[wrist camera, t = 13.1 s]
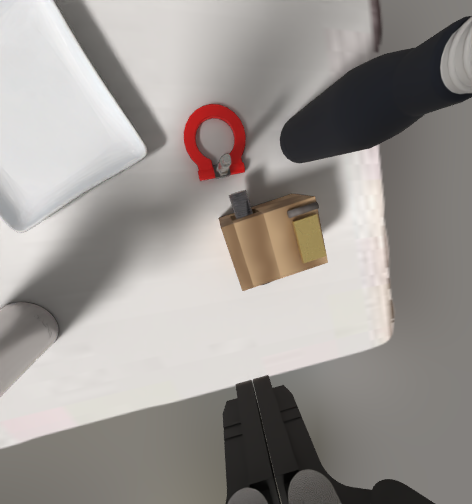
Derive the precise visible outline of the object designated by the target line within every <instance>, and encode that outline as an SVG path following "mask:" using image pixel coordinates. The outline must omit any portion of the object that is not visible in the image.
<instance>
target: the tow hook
mask: <svg viewBox="0 0 472 504" xmlns="http://www.w3.org/2000/svg"><path fill="white" fill-rule="evenodd" d="M211 118H218V119H221V120H223V121H225V122H226V123H227V124H228V125H229V126H230V127H231V129H232V131H233V133H234V138H235V139H234V147H233V150H232V151H231V153H230V154H225V155H224V156H222V157H221V158H220V162H219V163H218V165H214V166H212V161H211V160H210V159H208V158H206V157H205V156H203V155H202V154H201V152H200V151H199V150H198V148H197V145H196V139H195V136H196V132H197V129H198V127H199V126H200V125H201V123H202V122H204V121H205V120H207V119H211ZM245 140H246V136H245V131H244V127H243V125H242V123H241V120H240V119H239V118H238V116H237V115H236V114H235V113H234V112H233V111H231V110H230V109H229V108H227V107H224V106H222V105H217V104H209V105H205V106H202V107H200V108H199V109H197V110H195V111H194V113H193V114H192V115H191V116H190V117H189V119H188V121H187V123H186V126H185V130H184V143H185V146H186V150H187V152H188V154H189V156H190V157H191V159H192V160H193V161H194V162H195V163H196V164H197V165H198V169H199V171H198V175H199V179H200V181H202V180H208V179H213V178H221V177H227V176H230V175H233V174H238V173H243V172H245V166H244V163H243V162H242V159H241V156H242V154H243V151H244V148H245Z"/></svg>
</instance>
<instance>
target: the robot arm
mask: <svg viewBox="0 0 472 504" xmlns="http://www.w3.org/2000/svg"><path fill="white" fill-rule="evenodd" d="M57 337H58V325H57V322H56V320H55V318H54V317H53V316H52V315H51V314H50V313H49V312H48V311H47V310H45V309H44V308H42V307H40V306H38V305H35V304H32V303H27V302H17V303H12V304H9V305H6V306H5V307H3V308H1V309H0V397H1V396H2V395H3V394H4V393H5V392H6V391H7V390H8V389H9V388H10V387H11V386H12V385H13V384H14V383H15V382H16V381H17V380H18V379H19V378H20V377H21V376H22V375H23V374H24V373H25V372H26V370H27V369H28V368H29V367H30V366H31V365H32V364H33V363H34V362H35V361H36V360H37V359H38V358H39V357H40V356H41V355H42V354H43V353H44V352H45V351H46V350H47V349H48V348H49V347H50V346H51V345H52V344H53V343H54V342H55V340H56V339H57ZM253 383H254V387H255V391H256V395H255V391H254V387H253V384H252V380H249V381H245V382H242V383H238V384H236V390H237V397H238V398H237V399H233V400H229V401H227V402H226V405H225V409H224V412H223V427H224V440H225V443H224V444H225V461H226V479H227V499H226V504H281V502H280V498H279V494H278V490H277V486H278V489H279V493H280V497H281V501H282V504H435V503H433V502H432V501H430V500H428V499H427V498H426V497H424V496H422V495H421V494H419V493H418V492H416V491H415V490H413V489H412V488H410V487H408V486H407V485H405V484H403V483H401V482H399V481H395V480H392V479H385V480H382V481H379V482H378V483H376V484H375V486H374V487H373V489H372V490H369V489H361V488H353V487H349V486H345V485H343V484H341V483H339V482H337V481H336V480H334V479H333V478H332V477H331V476H330V475H329V474H328V473H327V472H326V471H325V469H324V468H323V466H322V465H321V462H320V460H319V458H318V455H317V453H316V451H315V448H314V446H313V443H312V441H311V438H310V436H309V434H308V431H307V429H306V426H305V424H304V421H303V420H302V417H301V414H300V412H299V409H298V407H297V405H296V402H295V400H294V397H293V395H292V393H291V392H290V391H289V390H288V389H287V388H286V387H285V386H284V385H282V386H278V387H275V388H272V385H271V382H270V379H269V376H268V375H266V376H263V377H259V378H256V379H253ZM256 396H257V399H256ZM257 400H258V403H257ZM258 404H259V407H258ZM259 408H260V411H259ZM260 413H261V415H260ZM261 417H262V419H261ZM262 422H263V423H262ZM263 426H264V428H263ZM264 431H265V432H264ZM265 435H266V437H265ZM266 439H267V441H266ZM267 444H268V445H267ZM268 448H269V450H268ZM269 452H270V454H269ZM270 457H271V458H270ZM271 461H272V463H271ZM272 465H273V467H272ZM273 470H274V472H273ZM274 474H275V476H274ZM275 478H276V480H275ZM276 482H277V485H276Z"/></svg>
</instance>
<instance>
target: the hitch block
mask: <svg viewBox="0 0 472 504" xmlns="http://www.w3.org/2000/svg"><path fill="white" fill-rule="evenodd" d="M318 208H319V206H318V203H317V202H316V199H315V196H308V195H300V194H289V195H286V196H283V197H280V198H277V199H274V200H271V201H268V202H265V203H262V204H259V205H256V206H253V207H251V209H252V212H253V214H251V215H248V216H245V217H242V218H239V219H236V217H235V213H232V214H229V215H226V216H223V217H220V218H219V221H220V226H221V229H222V232H223V235H224V238H225V241H226V244H227V247H228V250H229V253H230V256H231V259H232V262H233V265H234V267H235V270H236V273H237V276H238V279H239V282H240V285H241V288H242V291H244V290H247V289H250V288H253V287H256V286H259V285H262V284H265V283H268V282H271V281H274V280H277V279H280V278H283V277H286V276H289V275H292V274H295V273H298V272H301V271H304V270H307V269H310V268H313V267H316V266H319V265H322V264H325V263H328V260H327V255H326V256H325V257H322V258H319V259H316V260H313V261H310V262H307V263H303V262H302V259H301V255H300V251H299V248H298V244H297V240H296V236H295V232H294V228H293V224H292V221H295V220H298V219H301V218H304V217H307V216H310V215H313V214H317V216H318V221H319V225H320V230H321V224H320V219H319V214H318ZM321 234H322V230H321ZM322 239H323V235H322ZM323 243H324V240H323ZM324 247H325V245H324ZM325 252H326V250H325Z"/></svg>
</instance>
